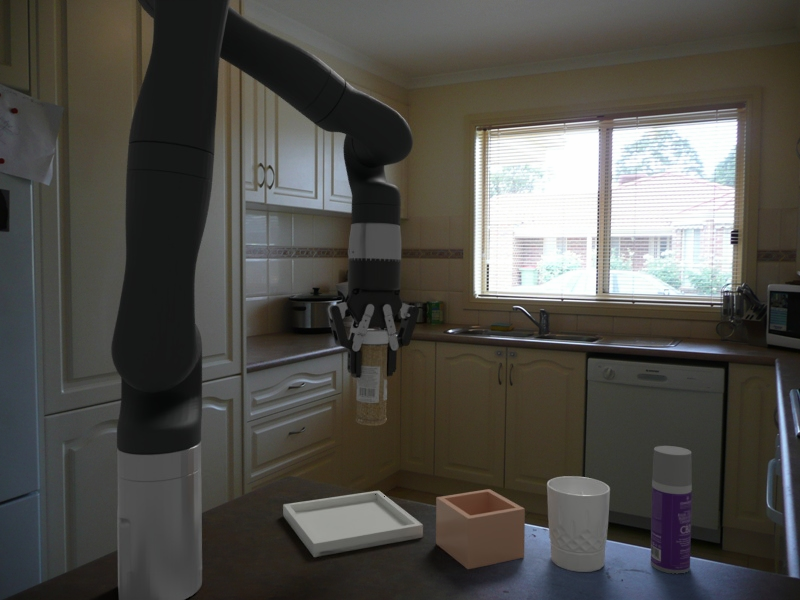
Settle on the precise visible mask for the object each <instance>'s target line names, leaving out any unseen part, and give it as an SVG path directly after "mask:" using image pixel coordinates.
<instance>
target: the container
mask: <svg viewBox="0 0 800 600" xmlns="http://www.w3.org/2000/svg"><path fill="white" fill-rule="evenodd" d="M652 459H653V460H652V461H653V463H652V479H651V480H652V481H651V482H652V483H651V522H650V523H651V525H650V526H651V527H650V529H651V530H650V565H651V566H652V567H653V568H654V569H657V570H658V571H660V572H663V573H667V574H671V573H672V575H679V574H678V573H684V574H686V573H685V572H687V571H689V572H690V570H691V548H692V547H691V539H692V501H693V499H692V498H693V495H692V494H693V492H692V491H693V490H692V489H693V485H692V482H693V478H692V475H693V474H692V473H693V470H692V468H693V467H692V463H693V462H692V460H693V459H692V450H690V449H687V448H685V447H680V446H675V445H674V446H672V445H657V446H655V447H654V448H653V458H652ZM674 573H676V574H674ZM687 573H688V572H687Z"/></svg>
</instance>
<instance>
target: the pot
mask: <svg viewBox="0 0 800 600" xmlns="http://www.w3.org/2000/svg"><path fill="white" fill-rule="evenodd" d="M435 505H436V507H435V508H436V511H435V513H436V514H435V516H436V517H435V520H436V521H435V528H436V529H435V531H436V532H435V544H436V545H437V546H438V547H440V549H442V550H443V551H444V552H445V553H447V554H448V555H449V556H451V557H452V558H453V559H454V560H456V561H457V562H458V563H459V564H461V565H462V566H463V567H464V568H465V569H467V570H473V569H476V568H481V567H485V566H491V565H495V564H500V563H504V562H509V561H513V560H519V559H523V558H525V531H526V529H525V528H526V527H525V526H526V525H525V522H526V509H525V508H524V507H523V506H521V505H519V504H517V503H515V502H514V501H512V500H510V499H509V498H507V497H504V496H503V495H501V494H499V493H497V492H495V491H493V490H492V489H490V488H489V489H488V488H487V489H483V490H482V489H481V490H476V491H475V490H474V491H469V492H463V493H457V494H449V495H443V496H437V497H436V504H435Z"/></svg>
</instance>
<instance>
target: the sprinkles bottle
mask: <svg viewBox="0 0 800 600" xmlns="http://www.w3.org/2000/svg"><path fill="white" fill-rule="evenodd" d="M388 343H389V337H388V332H387V331H386V330H382V329H379V328H368V329H367V332H366V335H365V336H364V337H363V341H362V344H361V347H360V350H359V351H360V352H361V376H360V378H356V395H355V396H356V399H355V400H356V416H355V422H356V423H357V424H359V425H362V426H371V427H373V426H381V425H384V424H385V423H386V422H387V421H388V419H387V399H388V380H387V379H388V377H387V347H388Z"/></svg>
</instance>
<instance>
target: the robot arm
mask: <svg viewBox="0 0 800 600" xmlns="http://www.w3.org/2000/svg"><path fill="white" fill-rule="evenodd" d="M137 1H138V3H139V5H140V6H141V7H142V9H143V10H144V11H145V12H146V13H147V14H148V15H149V17H150V18H152V19H153V37H152V46H151V51H150V57H149V61H148V65H147V68H146V71H145V75H144V78H143V81H142V84H141V86H140V87H141V88H140V90H139V94H138V96H137V100H136V103H135V104H136V105H135V108H134V111H133V115H132V119H131V124H130V129H129V137H128V149H127V159H126V164H127V165H126V174H125V175H126V177H125V268H124V275H123V280H122V281H123V282H122V288H121V293H120V294H121V295H120V298H119V299H120V300H119V306H118V311H117V316H116V321H115V325H114V326H115V327H114V330H113V335H112V340H111V351H110V352H111V358H112V363H113V366H114V368H115V370H116V372H117V374H118V375H119V376H120V377H121V378H120V379H121V380H120V381H121V383H120V384H121V385H120V386H121V387H120V388H121V389H120V393H121V395H120V396H121V397H120V407H119V415H118V419H117V425H116V449H117V451H116V452H117V453H116V457H117V458H116V460H117V461H116V465H117V467H116V468H117V471H116V472H117V511H116V513H117V514H116V515H117V516H116V518H117V520H116V522H117V524H116V525H117V527H116V529H117V532H116V533H117V589H118V591H117V592H118V600H186V599H188V598H189V597H192V596H193V595H194V594H196V593H198V591H199V590H200V589H201V587H202V584H203V549H202V548H203V547H202V545H203V538H202V537H203V536H202V535H203V533H202V532H203V530H202V529H203V527H202V526H203V525H202V524H203V523H202V516H203V515H202V513H203V512H202V511H203V509H202V504H203V503H202V419H203V418H202V417H203V344H202V343H203V342H202V336H201V333H200V329H199V328H198V326H197V324H196V309H195V305H196V303H195V301H196V300H195V291H196V290H195V282H196V268H197V260H198V257H199V252H200V248H201V244H202V240H203V236H204V233H205V228H206V223H207V219H208V214H209V208H210V201H211V197H212V189H213V176H214V164H215V163H214V162H215V147H216V146H215V144H216V124H217V113H218V112H217V111H218V94H219V93H218V92H219V91H218V89H219V87H218V86H219V85H218V84H219V69H220V58H221V59H223V60H224V61H225V62H227V63H228V64H230V65H232V66H234V67H235V68H236V69H239V70H240V71H242V72H243V73H245V75H248V76H249V77H251V78H252V79H254V80H255V81H257V82H258V83H259V84H262V86H264V87H266V88H267V89H269V90H270V91H271V92H272V93H274V94H275V95H277V96H278V97H280V99H282V100H283V101H285V103H287V104H288V105H290V106H291V107H292V108H293V109H295V110H296V111H298V112H299V113H300V114H302V115H303V116H304V117H306V118H307V119H308V120H309V121H310V122H312V123H313V124H314V125H315V126H316V127H319V128H320V129H322V130H324V131H325V132H330V133H340V134H344V135H345V137H344V141H343V146H342V147H343V160H344V164H345V165H344V166H345V170H346V174H347V175H346V176H347V180H348V184H349V188H350V192H351V216H350V220H351V225H350V233H349V238H348V239H349V240H348V248H347V255H348V264H347V265H348V267H347V270H348V271H347V295H346V297H345V299H344V302H340V303H337V304H328V305H327V306H326V308H325V311H326V315H327V318H328V321H329V324H330V328H331V333H332V336H333V339H334V343H335V345H337V346H339V347H342V348H344V349H346V351H347V360H346V361H347V364H346V365H347V366H346V368H347V373H349V374H350V375H351V377H352V378H355V379H357V378H360V376H361V352H360V351H359V350H360V347H361V344H362V341H363V337H364V336H365V335H366V332H367V329H374V328H377V329H382V330H386V331H387V332H388V337H389V343H388V347H387V378H388V377H393V376H394V373H395V372H396V370H397V355H398V350H399V349H400V348H402V347H408V346H409V345H410V343H411V340H412V337H413V333H414V330H415V327H416V323H417V320H418V318H419V314H420V308H419V307H418V306H416V305H409V304H407V303H403V299H402V297H401V295H400V292H401V277H402V272H401V271H402V233H401V214H402V213H401V212H402V211H401V209H402V208H401V205H402V203H401V202H402V201H401V200H402V199H401V191H400V189H399V187H398V186H397V185H395V184H393V183H391V182H387V177H386V173H385V166H388V165H389V166H390V165H394V164H397V163H399V162H401V161H403V160H405V159H406V158H407V157H408V156H409V155H410V153H411V151H412V148H413V144H414V138H413V132H412V129H411V127H410V125H409V123H408V121H407V120H406V119H405V118H404V117H403V116H402V115H401V114H400V113H399V112H398V111H397V110H395V108H392V107H391V106H389V105H387V104H386V103H384V102H382V101H380V100H379V99H377V98H375V97H374V96H371V95H370V94H368V93H365V92H363V91H361V90H359V89H357V88H355V87H353V86H352V85H351V84H350V83H349V82H348V81H346V79H344V78H343V77H342V76H340V75H339V73H337V72H336V71H335V70H334V69H333V68H331V67H330V66H329V65H327V63H325V62H324V61H323V60H321V59H320V58H319V57H317V56H316V55H315V54H313V53H312V52H309V51H308V50H306V49H304V48H303V47H301V46H299V45H298V44H295V43H292V42H291V41H289V40H287V39H284V38H282V37H280V36H278V35H276V34H274V33H271V32H269V31H268V30H265V29H264V28H262V27H260V26H259V25H257V24H255V23H253V21H252V22H251V21H250V20H249V19H247V17H244V16H243V15H242V14H240V13H239V12H238V11H237V10H235V9H234V8H233V7H232V6H231V5H230V3H231V2H230V1H231V0H137ZM346 311H347V312H348V313H349V315H350V316H351V318H352V322H351V325H350V330H349V336H347V335H348V334H347V331H346V327H345V323H344V320H343V319H344V318H345V316H346ZM399 312H400V317H401V321H400V325H399V327H398V331H397V329H396V328H397V327H396V324H395V321H394V320H395V317H396V316H397V315H398V314H399Z"/></svg>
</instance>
